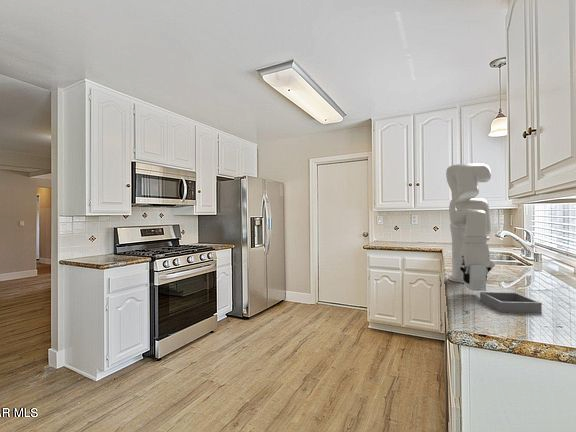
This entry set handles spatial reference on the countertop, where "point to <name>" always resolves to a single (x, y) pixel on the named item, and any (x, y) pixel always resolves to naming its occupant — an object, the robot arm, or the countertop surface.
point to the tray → (510, 302)
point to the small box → (477, 278)
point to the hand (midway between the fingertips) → (474, 282)
